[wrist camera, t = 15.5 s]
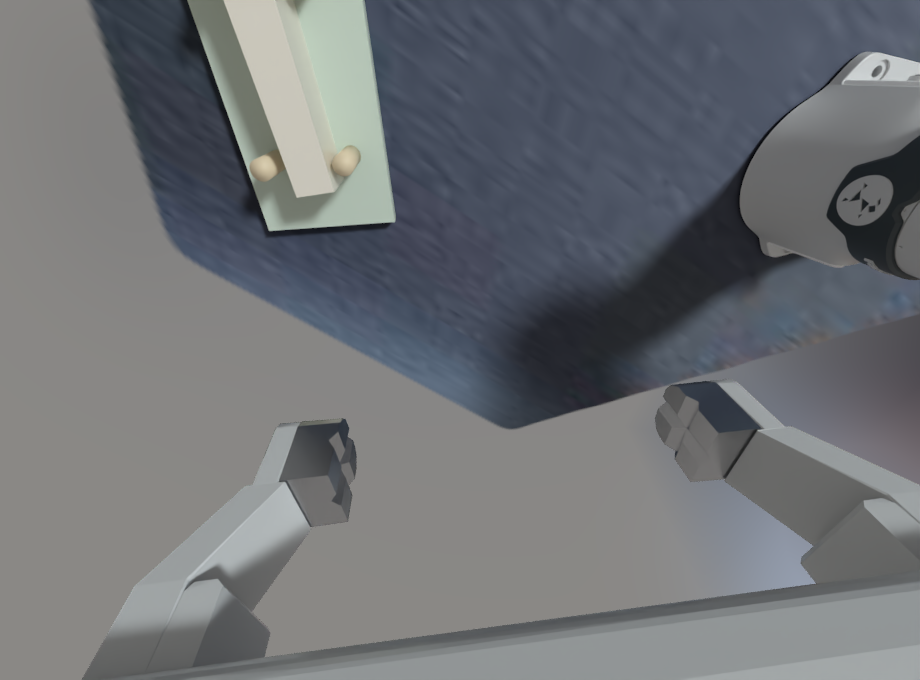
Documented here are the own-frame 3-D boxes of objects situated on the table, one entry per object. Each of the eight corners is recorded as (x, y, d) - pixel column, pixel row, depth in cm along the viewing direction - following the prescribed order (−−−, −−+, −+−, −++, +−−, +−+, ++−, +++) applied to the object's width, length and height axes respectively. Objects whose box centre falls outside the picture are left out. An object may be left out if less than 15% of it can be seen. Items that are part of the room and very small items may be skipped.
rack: (138, -170, 22) (58, -242, 17) (339, -173, 22) (317, -243, 18) (274, 225, 36) (251, 248, 31) (395, 217, 37) (392, 238, 32)
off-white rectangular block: (222, -81, 23) (181, -115, 19) (268, -87, 23) (237, -123, 19) (311, 183, 33) (296, 197, 29) (344, 178, 33) (334, 192, 29)
